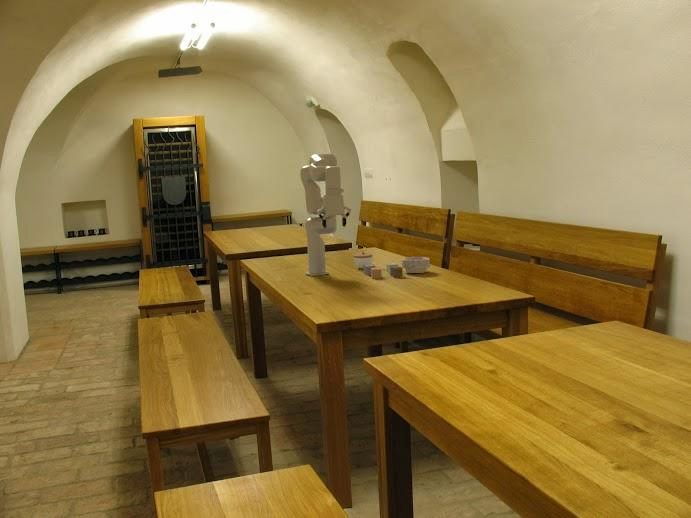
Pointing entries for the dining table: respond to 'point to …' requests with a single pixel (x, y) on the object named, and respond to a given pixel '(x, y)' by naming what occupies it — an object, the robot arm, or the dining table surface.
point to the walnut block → (396, 271)
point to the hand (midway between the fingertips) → (334, 227)
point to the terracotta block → (376, 273)
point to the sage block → (390, 266)
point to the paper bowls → (415, 264)
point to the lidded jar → (363, 259)
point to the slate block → (367, 269)
